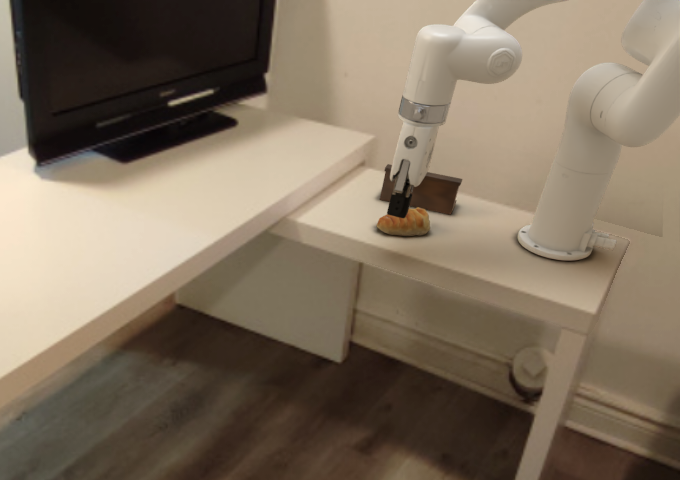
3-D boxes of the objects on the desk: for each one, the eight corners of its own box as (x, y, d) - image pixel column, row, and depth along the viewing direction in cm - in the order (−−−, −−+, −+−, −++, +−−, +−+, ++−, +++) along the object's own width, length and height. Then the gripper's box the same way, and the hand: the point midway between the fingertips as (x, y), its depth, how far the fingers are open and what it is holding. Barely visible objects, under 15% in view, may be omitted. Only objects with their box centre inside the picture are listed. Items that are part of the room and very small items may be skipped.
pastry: (385, 240, 146) (389, 221, 143) (369, 223, 151) (372, 205, 148) (431, 235, 147) (436, 216, 145) (414, 219, 152) (418, 200, 150)
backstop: (456, 206, 157) (465, 173, 153) (451, 215, 154) (460, 182, 150) (384, 190, 162) (391, 159, 158) (378, 199, 159) (385, 167, 155)
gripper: (437, 128, 120) (408, 237, 131) (456, 101, 130) (427, 204, 142) (388, 118, 123) (364, 226, 134) (410, 92, 133) (386, 194, 144)
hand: (396, 214), depth 138 cm, fingers closed
